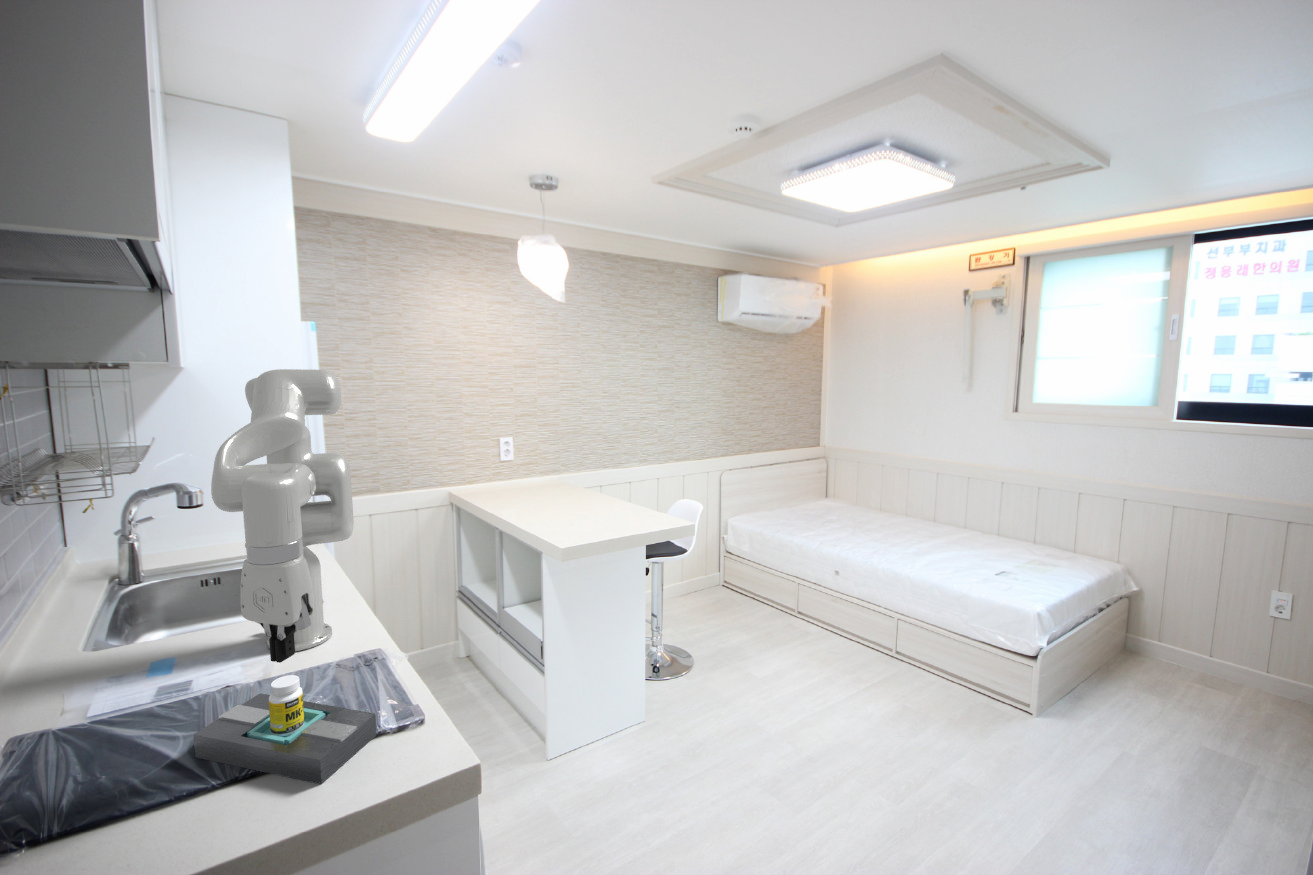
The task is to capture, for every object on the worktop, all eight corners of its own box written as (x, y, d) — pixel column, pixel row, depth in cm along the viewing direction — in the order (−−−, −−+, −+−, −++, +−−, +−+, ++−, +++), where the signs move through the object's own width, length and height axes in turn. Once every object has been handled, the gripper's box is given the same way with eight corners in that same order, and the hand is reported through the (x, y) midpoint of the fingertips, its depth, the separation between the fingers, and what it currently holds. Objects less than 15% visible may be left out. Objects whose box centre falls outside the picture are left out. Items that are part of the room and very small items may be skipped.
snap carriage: (245, 752, 93) (244, 733, 93) (288, 721, 101) (287, 704, 101) (288, 760, 91) (287, 742, 91) (328, 729, 99) (327, 711, 99)
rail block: (195, 757, 93) (193, 732, 93) (261, 713, 105) (259, 691, 104) (321, 784, 88) (319, 757, 87) (376, 735, 100) (375, 711, 99)
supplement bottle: (288, 739, 93) (284, 691, 92) (263, 735, 94) (259, 687, 93) (311, 721, 98) (308, 675, 97) (287, 718, 99) (284, 671, 98)
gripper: (214, 553, 90) (224, 662, 93) (295, 564, 87) (302, 677, 90) (257, 538, 97) (265, 640, 100) (333, 548, 94) (339, 653, 97)
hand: (283, 657), depth 95 cm, fingers closed
